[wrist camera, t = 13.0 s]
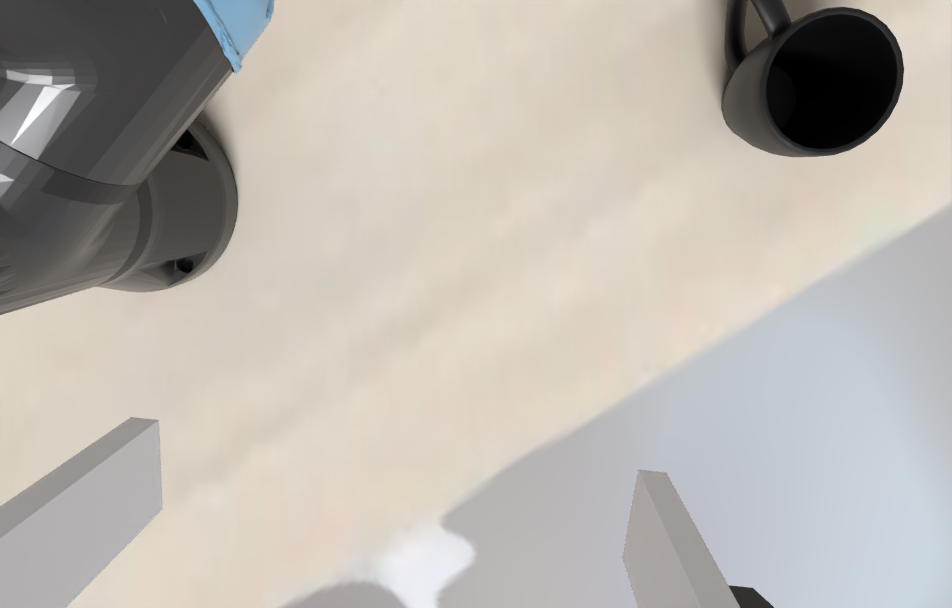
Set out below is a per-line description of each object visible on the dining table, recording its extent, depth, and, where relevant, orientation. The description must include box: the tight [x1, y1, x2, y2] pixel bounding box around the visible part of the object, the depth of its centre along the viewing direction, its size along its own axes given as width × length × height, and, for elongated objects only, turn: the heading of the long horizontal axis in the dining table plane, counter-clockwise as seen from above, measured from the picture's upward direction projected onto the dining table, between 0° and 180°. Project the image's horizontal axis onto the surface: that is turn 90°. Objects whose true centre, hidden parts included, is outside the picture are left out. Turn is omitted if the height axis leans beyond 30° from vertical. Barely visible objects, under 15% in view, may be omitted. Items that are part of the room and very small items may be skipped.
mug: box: [722, 0, 904, 157], centre depth 38 cm, size 8×12×10 cm
